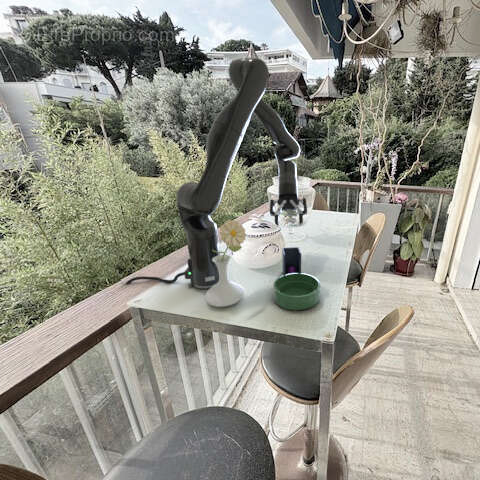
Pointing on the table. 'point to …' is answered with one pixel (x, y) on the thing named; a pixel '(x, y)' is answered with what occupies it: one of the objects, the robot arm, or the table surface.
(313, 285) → the bowl
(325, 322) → the table surface
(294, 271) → the ball
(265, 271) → the table surface
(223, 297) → the flower in vase
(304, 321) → the table surface
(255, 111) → the robot arm
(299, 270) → the dark blue block
